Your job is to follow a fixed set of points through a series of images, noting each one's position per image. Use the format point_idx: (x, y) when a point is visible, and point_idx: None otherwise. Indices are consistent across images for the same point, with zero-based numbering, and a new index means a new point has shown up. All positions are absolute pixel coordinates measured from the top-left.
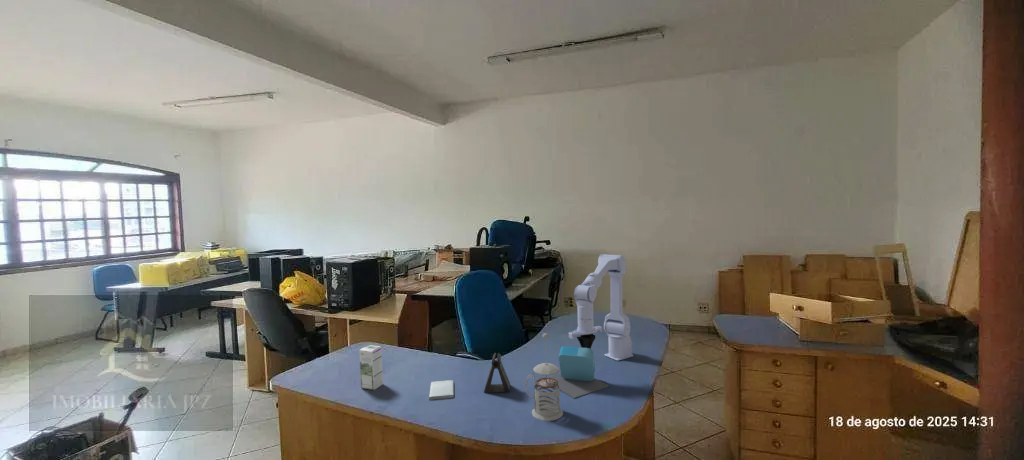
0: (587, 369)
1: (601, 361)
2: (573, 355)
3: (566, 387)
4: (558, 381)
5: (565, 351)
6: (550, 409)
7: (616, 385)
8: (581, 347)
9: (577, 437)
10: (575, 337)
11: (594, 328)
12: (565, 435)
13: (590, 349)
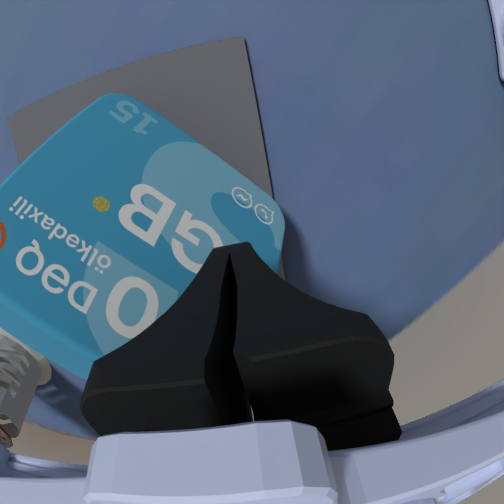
0: None
1: (444, 25)
2: (66, 368)
3: None
4: None
5: (2, 320)
6: (17, 367)
7: (322, 295)
8: (193, 280)
9: (76, 434)
10: (52, 472)
11: (476, 474)
12: (54, 423)
13: None
